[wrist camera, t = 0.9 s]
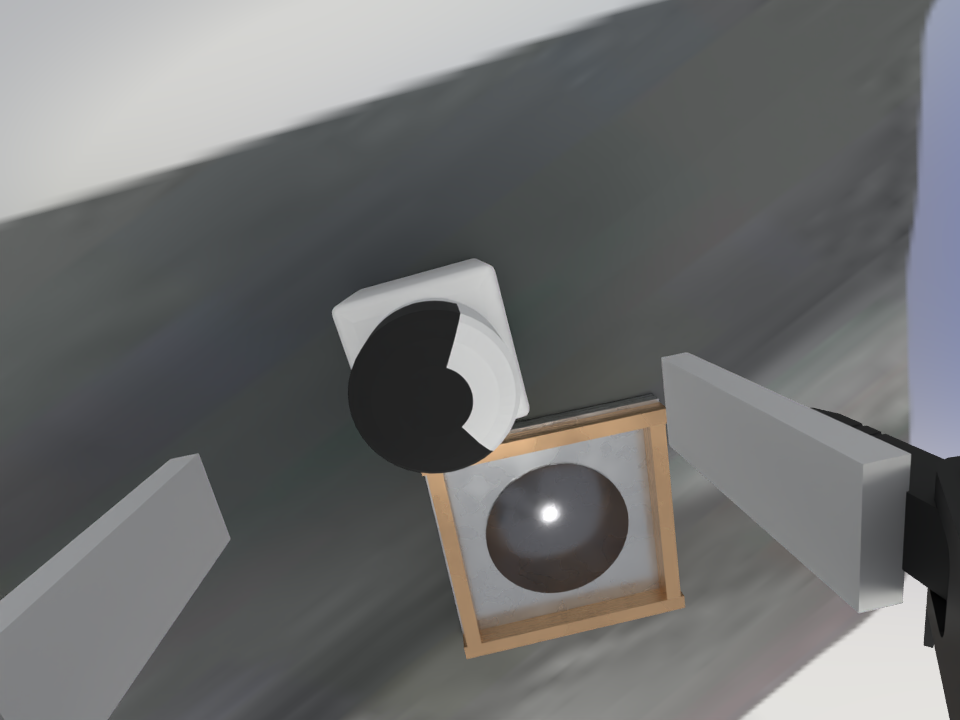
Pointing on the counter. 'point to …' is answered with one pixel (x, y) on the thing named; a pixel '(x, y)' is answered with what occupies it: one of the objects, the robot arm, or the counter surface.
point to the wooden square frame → (561, 527)
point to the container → (432, 367)
